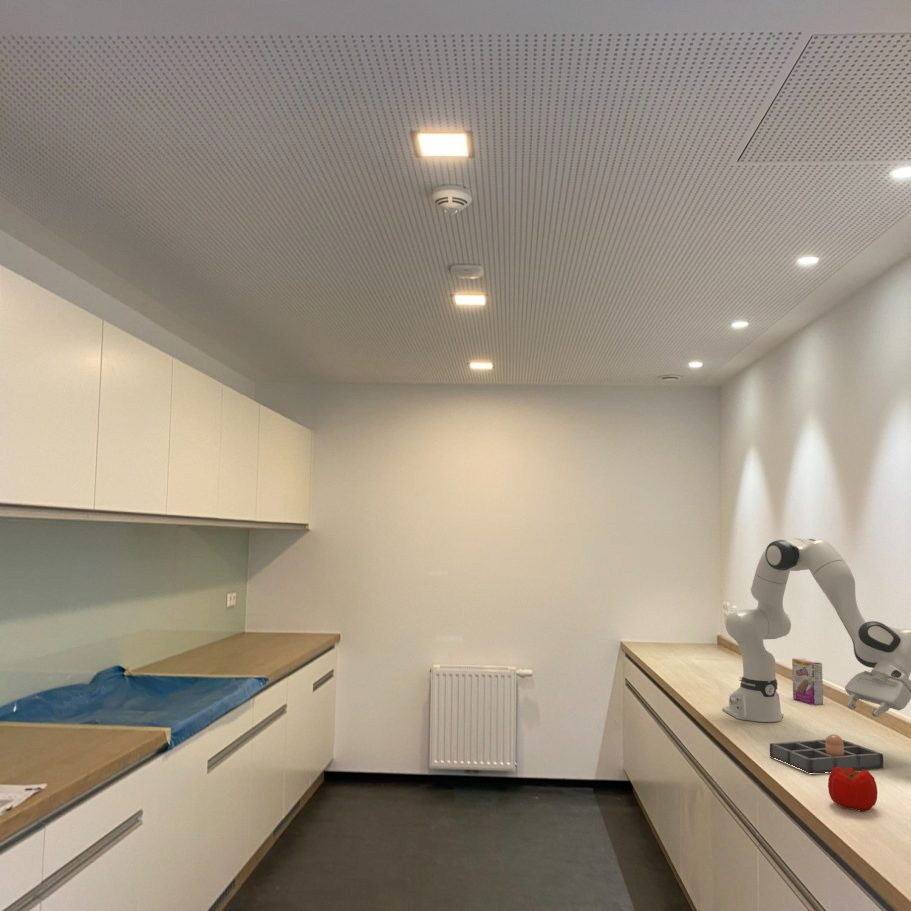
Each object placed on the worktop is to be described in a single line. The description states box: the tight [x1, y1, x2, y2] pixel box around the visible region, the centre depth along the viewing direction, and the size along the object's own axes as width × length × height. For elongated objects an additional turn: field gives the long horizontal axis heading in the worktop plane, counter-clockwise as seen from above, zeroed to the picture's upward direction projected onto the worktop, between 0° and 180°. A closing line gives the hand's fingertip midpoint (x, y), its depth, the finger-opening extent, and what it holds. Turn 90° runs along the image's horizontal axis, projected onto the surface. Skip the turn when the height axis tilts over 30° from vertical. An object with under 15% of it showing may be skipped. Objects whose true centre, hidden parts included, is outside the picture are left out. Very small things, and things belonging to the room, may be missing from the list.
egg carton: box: [769, 739, 884, 774], centre depth 233 cm, size 17×25×4 cm
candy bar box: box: [791, 657, 824, 706], centre depth 315 cm, size 11×5×16 cm, turn 22°
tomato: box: [827, 767, 878, 812], centre depth 196 cm, size 11×12×9 cm
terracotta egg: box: [825, 733, 844, 757], centre depth 229 cm, size 5×5×8 cm
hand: (862, 711), depth 233 cm, fingers open, 8 cm apart
